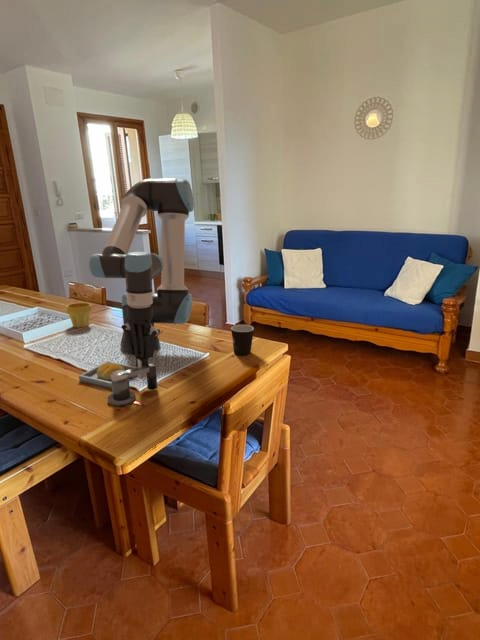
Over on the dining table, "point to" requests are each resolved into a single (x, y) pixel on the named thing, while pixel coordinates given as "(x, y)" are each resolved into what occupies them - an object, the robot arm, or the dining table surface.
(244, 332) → the coffee mug
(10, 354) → the dining table surface
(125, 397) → the crank hub
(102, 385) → the tray
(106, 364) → the bread roll
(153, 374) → the crank
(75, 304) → the plant pot
